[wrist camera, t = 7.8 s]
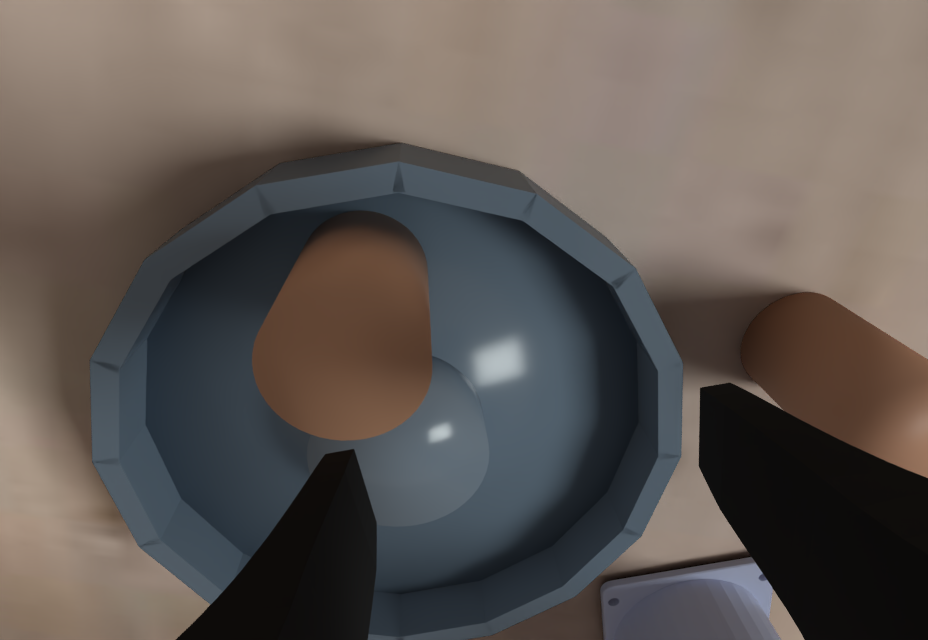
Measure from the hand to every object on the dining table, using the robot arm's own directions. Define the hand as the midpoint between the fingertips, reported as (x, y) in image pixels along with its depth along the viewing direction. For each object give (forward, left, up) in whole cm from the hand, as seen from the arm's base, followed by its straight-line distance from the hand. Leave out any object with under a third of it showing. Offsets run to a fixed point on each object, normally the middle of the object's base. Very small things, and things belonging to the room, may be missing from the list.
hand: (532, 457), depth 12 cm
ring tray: (-4, +4, -9) cm, 11 cm away
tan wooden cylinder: (+2, +4, -8) cm, 9 cm away
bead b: (-4, -11, -9) cm, 15 cm away
